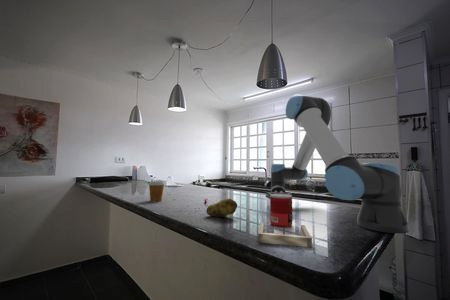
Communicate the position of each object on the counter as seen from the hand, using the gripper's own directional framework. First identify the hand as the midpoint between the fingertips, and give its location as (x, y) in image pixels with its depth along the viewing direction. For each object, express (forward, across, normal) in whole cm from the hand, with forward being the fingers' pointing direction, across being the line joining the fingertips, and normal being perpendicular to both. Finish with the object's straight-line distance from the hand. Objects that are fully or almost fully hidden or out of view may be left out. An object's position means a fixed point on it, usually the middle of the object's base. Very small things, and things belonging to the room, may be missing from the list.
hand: (279, 200), depth 85 cm
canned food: (+8, 0, -8) cm, 11 cm away
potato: (+3, +24, -8) cm, 25 cm away
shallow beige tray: (+21, 0, -8) cm, 22 cm away
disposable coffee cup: (-25, +72, -9) cm, 77 cm away
